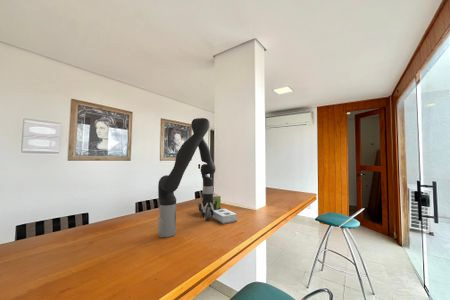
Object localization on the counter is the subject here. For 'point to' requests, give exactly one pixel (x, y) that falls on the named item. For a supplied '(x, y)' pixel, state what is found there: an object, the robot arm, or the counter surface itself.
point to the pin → (207, 214)
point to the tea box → (218, 199)
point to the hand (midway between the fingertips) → (207, 216)
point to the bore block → (224, 216)
